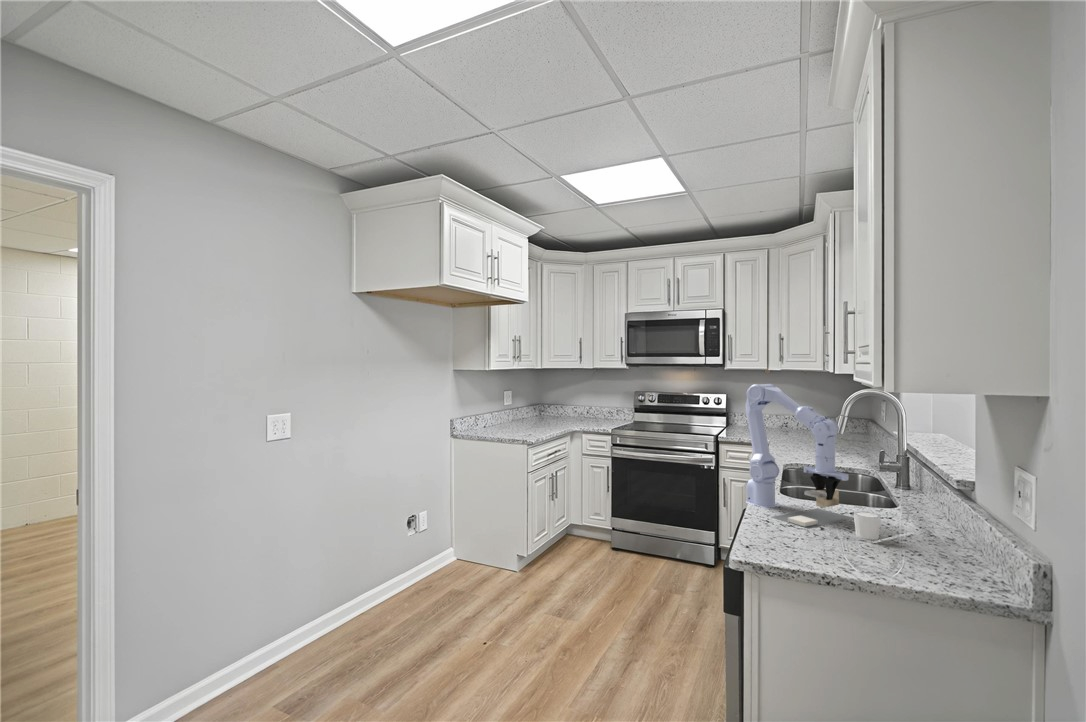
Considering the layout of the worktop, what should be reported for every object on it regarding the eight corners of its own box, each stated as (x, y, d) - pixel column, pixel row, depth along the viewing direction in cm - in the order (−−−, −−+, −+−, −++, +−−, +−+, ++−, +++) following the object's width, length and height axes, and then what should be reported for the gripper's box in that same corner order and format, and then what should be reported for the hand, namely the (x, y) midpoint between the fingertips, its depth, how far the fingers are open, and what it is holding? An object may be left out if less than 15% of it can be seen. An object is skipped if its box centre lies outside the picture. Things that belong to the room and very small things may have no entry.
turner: (828, 502, 176) (828, 487, 176) (842, 505, 171) (842, 490, 171) (804, 506, 170) (804, 490, 170) (818, 510, 166) (818, 494, 166)
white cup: (886, 542, 150) (886, 517, 150) (862, 542, 150) (862, 517, 150) (871, 534, 157) (871, 511, 157) (848, 534, 157) (848, 511, 157)
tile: (800, 519, 170) (787, 522, 167) (800, 515, 170) (787, 517, 167) (817, 524, 165) (804, 527, 162) (817, 520, 165) (804, 522, 162)
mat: (770, 518, 173) (770, 516, 173) (817, 509, 184) (817, 508, 184) (808, 530, 161) (808, 528, 161) (857, 520, 171) (856, 518, 171)
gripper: (797, 454, 176) (797, 494, 176) (838, 461, 163) (838, 505, 163) (811, 452, 179) (811, 492, 179) (852, 459, 166) (852, 502, 166)
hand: (825, 498), depth 171 cm, fingers closed on turner, 2 cm apart
